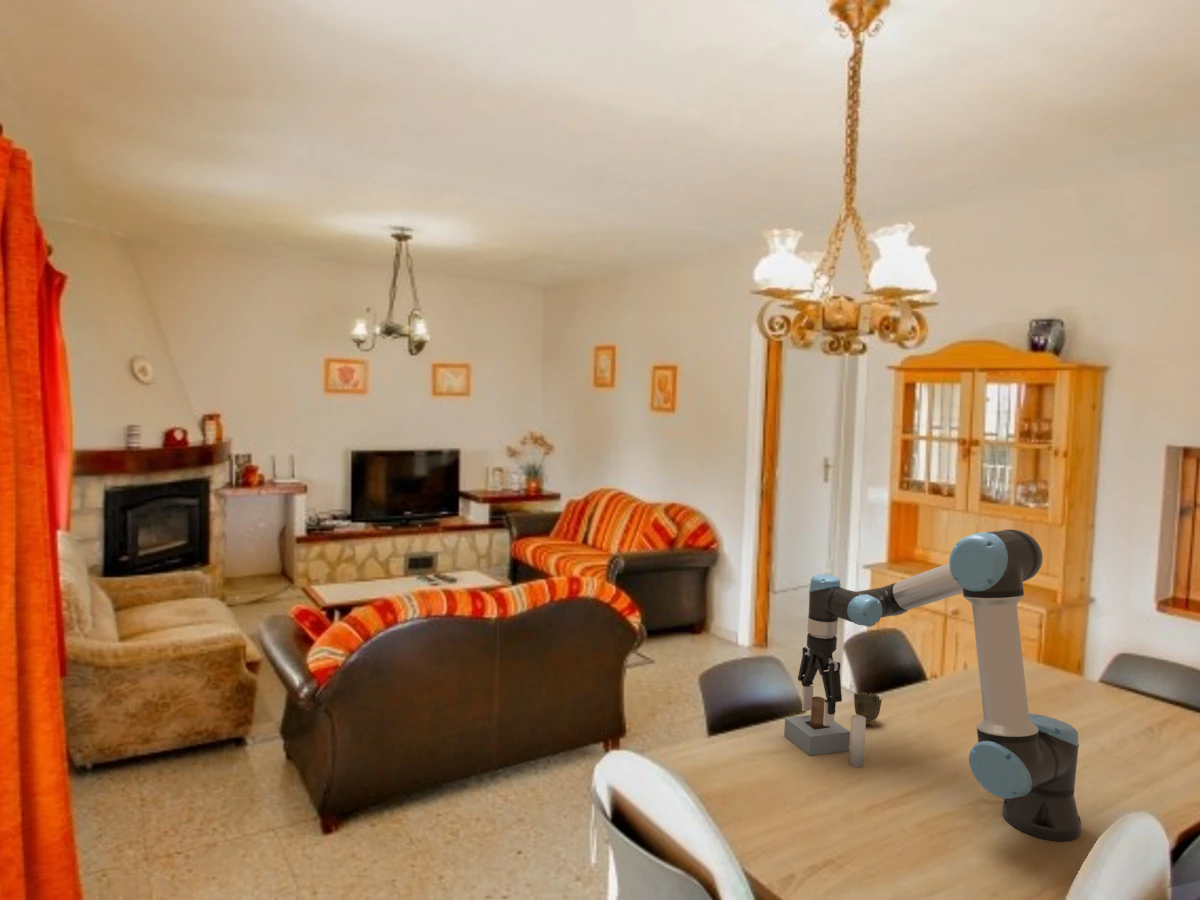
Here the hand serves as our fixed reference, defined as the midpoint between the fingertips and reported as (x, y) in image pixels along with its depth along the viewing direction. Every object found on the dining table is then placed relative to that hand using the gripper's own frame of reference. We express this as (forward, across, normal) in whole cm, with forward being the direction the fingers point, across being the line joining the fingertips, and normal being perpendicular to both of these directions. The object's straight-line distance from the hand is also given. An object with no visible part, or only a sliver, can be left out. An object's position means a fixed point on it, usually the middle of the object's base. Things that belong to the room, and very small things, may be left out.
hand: (817, 717), depth 210 cm
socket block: (+7, 0, 0) cm, 7 cm away
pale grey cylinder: (+7, -13, -3) cm, 15 cm away
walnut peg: (+7, 0, 0) cm, 7 cm away
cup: (+7, +7, -21) cm, 23 cm away
